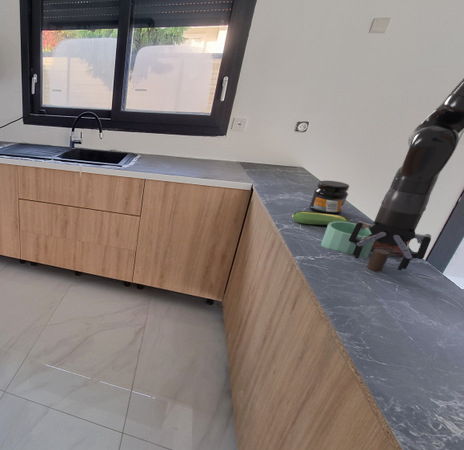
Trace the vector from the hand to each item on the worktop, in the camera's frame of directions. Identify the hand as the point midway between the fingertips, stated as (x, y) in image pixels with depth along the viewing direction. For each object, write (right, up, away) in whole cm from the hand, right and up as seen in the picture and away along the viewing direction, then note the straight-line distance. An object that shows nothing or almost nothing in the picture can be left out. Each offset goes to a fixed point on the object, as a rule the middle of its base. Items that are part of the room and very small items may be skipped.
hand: (377, 263), depth 84 cm
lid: (0, -3, +1) cm, 3 cm away
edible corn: (+12, +10, +32) cm, 36 cm away
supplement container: (+23, +16, +44) cm, 52 cm away
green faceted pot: (+4, +2, +14) cm, 15 cm away
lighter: (+15, +2, +12) cm, 19 cm away
